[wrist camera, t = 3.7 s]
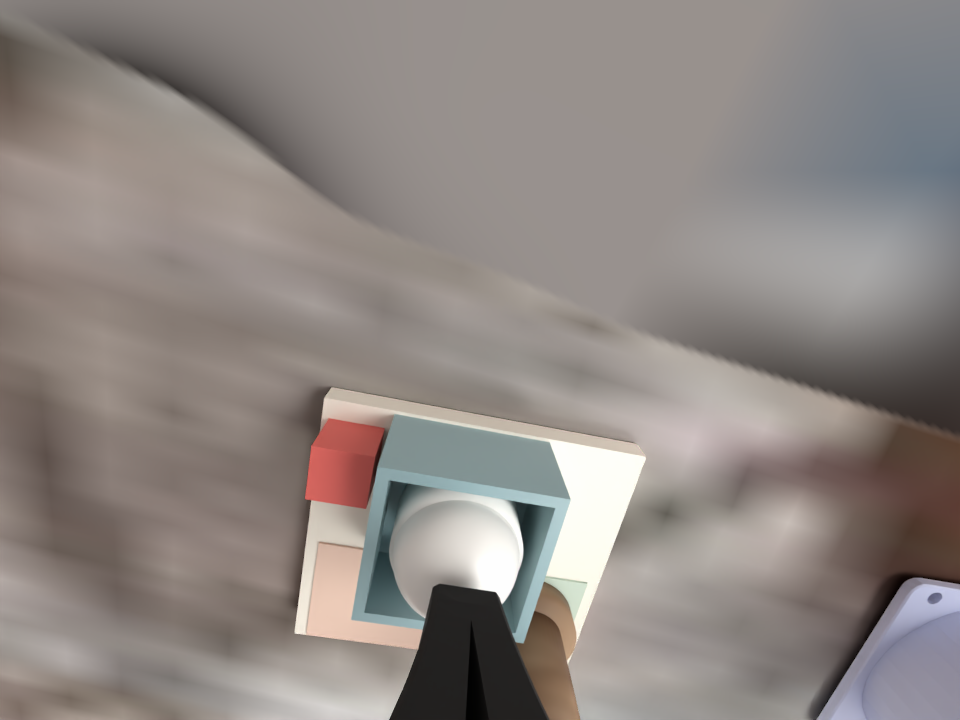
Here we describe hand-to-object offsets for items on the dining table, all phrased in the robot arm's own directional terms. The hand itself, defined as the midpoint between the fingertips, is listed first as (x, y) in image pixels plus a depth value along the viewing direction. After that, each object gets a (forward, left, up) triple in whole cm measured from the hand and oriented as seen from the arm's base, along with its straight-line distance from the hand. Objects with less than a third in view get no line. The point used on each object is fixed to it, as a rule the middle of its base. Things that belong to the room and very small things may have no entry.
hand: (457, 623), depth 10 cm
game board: (0, +2, -5) cm, 6 cm away
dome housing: (0, 0, -5) cm, 5 cm away
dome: (0, 0, -4) cm, 4 cm away
